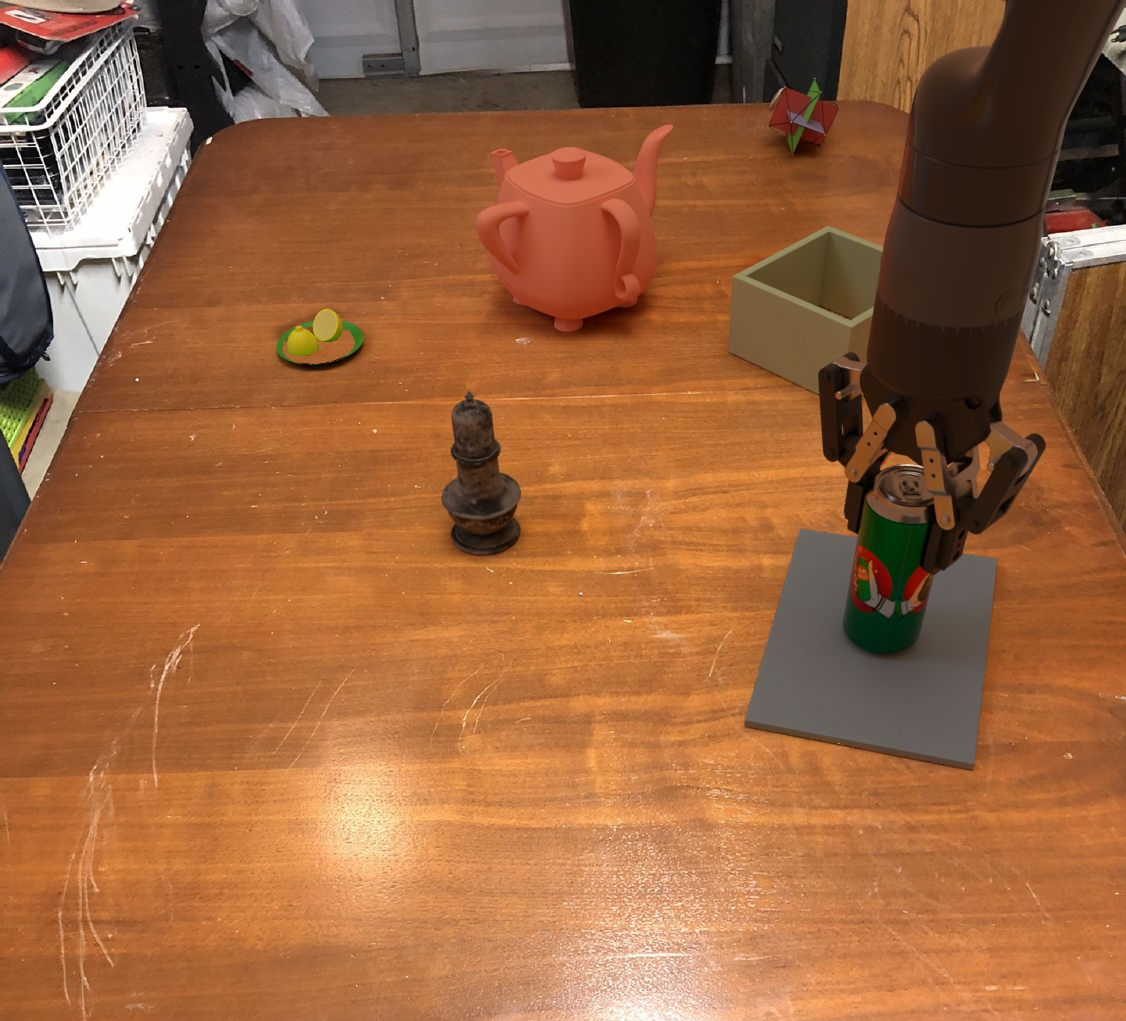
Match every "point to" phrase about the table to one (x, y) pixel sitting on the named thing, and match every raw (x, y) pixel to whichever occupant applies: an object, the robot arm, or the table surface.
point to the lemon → (317, 335)
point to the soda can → (891, 563)
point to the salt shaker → (479, 484)
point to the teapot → (574, 230)
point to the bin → (806, 305)
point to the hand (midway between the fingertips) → (898, 545)
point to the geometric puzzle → (802, 115)
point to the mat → (876, 662)
